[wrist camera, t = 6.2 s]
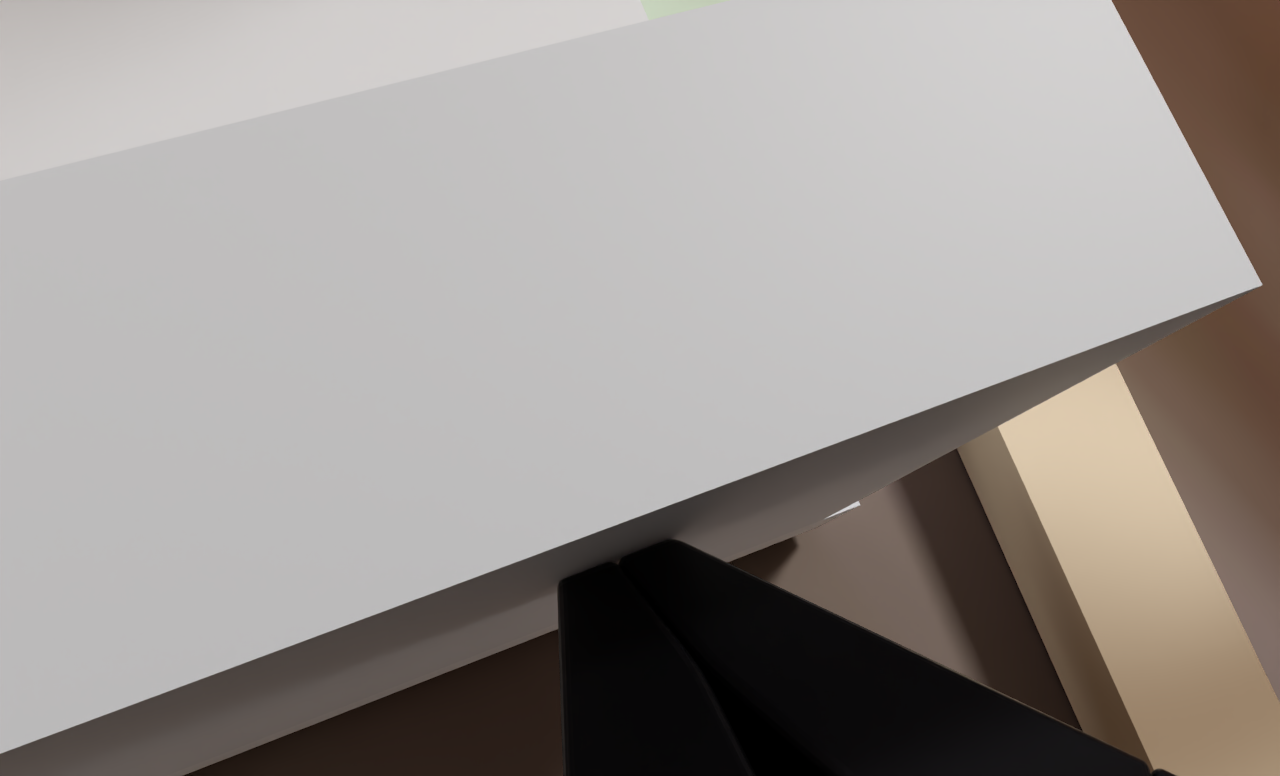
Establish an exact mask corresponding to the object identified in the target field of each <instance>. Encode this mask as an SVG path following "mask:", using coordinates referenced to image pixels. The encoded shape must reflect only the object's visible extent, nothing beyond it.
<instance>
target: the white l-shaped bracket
mask: <svg viewBox="0 0 1280 776" xmlns="http://www.w3.org/2000/svg"><path fill="white" fill-rule="evenodd" d="M1260 286H1262V283H1261V281H1260V279H1259V277H1258V276H1257V274H1256V272H1255V270H1254V268H1253V266H1252V264H1251V262H1250V261H1249V259H1248V257H1247V255H1246V253H1245V251H1244V249H1243V247H1242V245H1241V244H1240V242H1239V240H1238V238H1237V236H1236V234H1235V232H1234V230H1233V229H1232V227H1231V225H1230V223H1229V221H1228V219H1227V217H1226V215H1225V213H1224V212H1223V210H1222V208H1221V206H1220V204H1219V202H1218V200H1217V198H1216V197H1215V195H1214V193H1213V191H1212V189H1211V187H1210V185H1209V183H1208V181H1207V180H1206V178H1205V176H1204V174H1203V172H1202V170H1201V168H1200V166H1199V165H1198V163H1197V161H1196V159H1195V157H1194V155H1193V153H1192V151H1191V149H1190V148H1189V146H1188V144H1187V142H1186V140H1185V138H1184V136H1183V134H1182V133H1181V131H1180V129H1179V127H1178V125H1177V123H1176V121H1175V119H1174V117H1173V116H1172V114H1171V112H1170V110H1169V108H1168V106H1167V104H1166V102H1165V101H1164V99H1163V97H1162V95H1161V93H1160V91H1159V89H1158V87H1157V85H1156V84H1155V82H1154V80H1153V78H1152V76H1151V74H1150V72H1149V70H1148V69H1147V67H1146V65H1145V63H1144V61H1143V59H1142V57H1141V55H1140V53H1139V52H1138V50H1137V48H1136V46H1135V44H1134V42H1133V40H1132V38H1131V37H1130V35H1129V33H1128V31H1127V29H1126V27H1125V25H1124V23H1123V21H1122V20H1121V18H1120V16H1119V14H1118V12H1117V10H1116V8H1115V6H1114V5H1113V3H1112V1H1111V0H729V1H725V2H721V3H717V4H713V5H709V6H705V7H701V8H697V9H693V10H688V11H684V12H680V13H676V14H672V15H668V16H664V17H660V18H656V19H652V20H649V19H648V17H647V15H646V12H645V10H644V8H643V5H642V3H641V1H640V0H0V776H183V775H186V774H189V773H191V772H194V771H196V770H199V769H201V768H204V767H206V766H209V765H212V764H214V763H217V762H219V761H222V760H224V759H227V758H229V757H232V756H235V755H237V754H240V753H242V752H245V751H247V750H250V749H252V748H255V747H258V746H260V745H263V744H265V743H268V742H270V741H273V740H275V739H278V738H281V737H283V736H286V735H288V734H291V733H293V732H296V731H298V730H301V729H303V728H306V727H309V726H311V725H314V724H316V723H319V722H321V721H324V720H326V719H329V718H332V717H334V716H337V715H339V714H342V713H344V712H347V711H349V710H352V709H355V708H357V707H360V706H362V705H365V704H367V703H370V702H372V701H375V700H378V699H380V698H383V697H385V696H388V695H390V694H393V693H395V692H398V691H401V690H403V689H406V688H408V687H411V686H413V685H416V684H418V683H421V682H424V681H426V680H429V679H431V678H434V677H436V676H439V675H441V674H444V673H447V672H449V671H452V670H454V669H457V668H459V667H462V666H464V665H467V664H470V663H472V662H475V661H477V660H480V659H482V658H485V657H487V656H490V655H493V654H495V653H498V652H500V651H503V650H505V649H508V648H510V647H513V646H515V645H518V644H521V643H523V642H526V641H528V640H531V639H533V638H536V637H538V636H541V635H544V634H546V633H549V632H551V631H554V630H556V629H558V602H557V586H558V584H559V581H561V580H562V579H565V578H567V577H570V576H572V575H575V574H578V573H580V572H583V571H586V570H588V569H591V568H594V567H596V566H599V565H602V564H604V563H607V562H613V563H616V564H618V563H619V561H620V560H621V558H622V557H624V556H626V555H628V554H631V553H634V552H636V551H639V550H641V549H644V548H647V547H649V546H652V545H655V544H657V543H660V542H663V541H665V540H668V539H676V540H680V541H683V542H685V543H687V544H689V545H691V546H693V547H696V548H698V549H700V550H702V551H704V552H706V553H708V554H710V555H712V556H715V557H717V558H719V559H721V560H723V561H725V562H730V561H733V560H735V559H738V558H740V557H743V556H745V555H748V554H750V553H753V552H756V551H758V550H761V549H763V548H766V547H768V546H771V545H773V544H776V543H779V542H781V541H784V540H786V539H789V538H791V537H794V536H796V535H799V534H802V533H804V532H807V531H809V530H812V529H814V528H817V527H819V526H821V525H823V524H825V523H827V522H829V521H831V520H833V519H835V518H837V517H838V516H840V515H842V514H844V513H846V512H848V511H850V510H852V509H854V508H856V507H858V506H860V503H859V500H861V499H863V498H865V497H866V496H868V495H870V494H872V493H874V492H876V491H878V490H880V489H881V488H883V487H885V486H887V485H889V484H891V483H893V482H895V481H896V480H898V479H900V478H902V477H904V476H906V475H908V474H910V473H911V472H913V471H915V470H917V469H919V468H921V467H923V466H924V465H926V464H928V463H930V462H932V461H934V460H936V459H938V458H939V457H941V456H943V455H945V454H947V453H949V452H951V451H953V450H954V449H956V448H958V447H960V446H962V445H964V444H966V443H968V442H969V441H971V440H973V439H975V438H977V437H979V436H981V435H983V434H984V433H986V432H988V431H990V430H992V429H994V428H996V427H998V426H999V425H1001V424H1003V423H1005V422H1007V421H1009V420H1011V419H1013V418H1014V417H1016V416H1018V415H1020V414H1022V413H1024V412H1026V411H1028V410H1029V409H1031V408H1033V407H1035V406H1037V405H1039V404H1041V403H1043V402H1044V401H1046V400H1048V399H1050V398H1052V397H1054V396H1056V395H1057V394H1059V393H1061V392H1063V391H1065V390H1067V389H1069V388H1071V387H1072V386H1074V385H1076V384H1078V383H1080V382H1082V381H1084V380H1086V379H1087V378H1089V377H1091V376H1093V375H1095V374H1097V373H1099V372H1101V371H1102V370H1104V369H1106V368H1108V367H1110V366H1112V365H1114V364H1116V363H1117V362H1119V361H1121V360H1123V359H1125V358H1127V357H1129V356H1131V355H1132V354H1134V353H1136V352H1138V351H1140V350H1142V349H1144V348H1146V347H1147V346H1149V345H1151V344H1153V343H1155V342H1157V341H1159V340H1161V339H1162V338H1164V337H1166V336H1168V335H1170V334H1172V333H1174V332H1176V331H1177V330H1179V329H1181V328H1183V327H1185V326H1187V325H1189V324H1190V323H1192V322H1194V321H1196V320H1198V319H1200V318H1202V317H1204V316H1205V315H1207V314H1209V313H1211V312H1213V311H1215V310H1217V309H1219V308H1220V307H1222V306H1224V305H1226V304H1228V303H1230V302H1232V301H1234V300H1235V299H1237V298H1239V297H1241V296H1243V295H1245V294H1247V293H1249V292H1250V291H1252V290H1254V289H1256V288H1258V287H1260Z"/></svg>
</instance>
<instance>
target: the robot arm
mask: <svg viewBox="0 0 1280 776" xmlns="http://www.w3.org/2000/svg"><path fill="white" fill-rule="evenodd" d="M557 602H558V633H559V663H560V694H561V725H562V756H563V776H1177V775H1174V774H1172V773H1170V772H1168V771H1166V770H1164V769H1160V768H1159V769H1155V770H1154V771H1152V773H1150V769H1149V766H1148V765H1147V763H1146V762H1145V761H1143V760H1142V759H1140V758H1138V757H1135V756H1133V755H1131V754H1129V753H1127V752H1125V751H1123V750H1121V749H1119V748H1116V747H1114V746H1112V745H1110V744H1108V743H1106V742H1104V741H1102V740H1100V739H1098V738H1095V737H1093V736H1091V735H1089V734H1087V733H1085V732H1083V731H1081V730H1079V729H1076V728H1074V727H1072V726H1070V725H1068V724H1066V723H1064V722H1062V721H1060V720H1058V719H1055V718H1053V717H1051V716H1049V715H1047V714H1045V713H1043V712H1041V711H1039V710H1036V709H1034V708H1032V707H1030V706H1028V705H1026V704H1024V703H1022V702H1020V701H1018V700H1015V699H1013V698H1011V697H1009V696H1007V695H1005V694H1003V693H1001V692H999V691H997V690H994V689H992V688H990V687H988V686H986V685H984V684H982V683H980V682H978V681H975V680H973V679H971V678H969V677H967V676H965V675H963V674H961V673H959V672H957V671H954V670H952V669H950V668H948V667H946V666H944V665H942V664H940V663H938V662H935V661H933V660H931V659H929V658H927V657H925V656H923V655H921V654H919V653H917V652H914V651H912V650H910V649H908V648H906V647H904V646H902V645H900V644H898V643H895V642H893V641H891V640H889V639H887V638H885V637H883V636H881V635H879V634H877V633H874V632H872V631H870V630H868V629H866V628H864V627H862V626H860V625H858V624H856V623H853V622H851V621H849V620H847V619H845V618H843V617H841V616H839V615H837V614H834V613H832V612H830V611H828V610H826V609H824V608H822V607H820V606H818V605H816V604H813V603H811V602H809V601H807V600H805V599H803V598H801V597H799V596H797V595H794V594H792V593H790V592H788V591H786V590H784V589H782V588H780V587H778V586H776V585H773V584H771V583H769V582H767V581H765V580H763V579H761V578H759V577H757V576H754V575H752V574H750V573H748V572H746V571H744V570H742V569H740V568H738V567H736V566H733V565H731V564H729V563H727V562H725V561H723V560H721V559H719V558H717V557H715V556H712V555H710V554H708V553H706V552H704V551H702V550H700V549H698V548H696V547H693V546H691V545H689V544H687V543H685V542H683V541H680V540H676V539H668V540H665V541H663V542H660V543H657V544H655V545H652V546H649V547H647V548H644V549H641V550H639V551H636V552H634V553H631V554H628V555H626V556H624V557H622V558H621V560H620V561H619V563H618V564H616V563H613V562H607V563H604V564H602V565H599V566H596V567H594V568H591V569H588V570H586V571H583V572H580V573H578V574H575V575H572V576H570V577H567V578H565V579H562V580H561V581H559V584H558V586H557Z"/></svg>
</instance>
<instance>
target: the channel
mask: <svg viewBox="0 0 1280 776" xmlns="http://www.w3.org/2000/svg"><path fill="white" fill-rule="evenodd" d="M957 450H958V452H959V454H960V456H961V459H962V461H963V463H964V465H965V468H966V470H967V472H968V474H969V477H970V479H971V481H972V483H973V486H974V488H975V490H976V492H977V495H978V497H979V499H980V501H981V504H982V506H983V508H984V510H985V513H986V515H987V517H988V519H989V522H990V524H991V526H992V528H993V531H994V533H995V535H996V537H997V540H998V542H999V544H1000V546H1001V549H1002V551H1003V553H1004V555H1005V558H1006V560H1007V562H1008V564H1009V567H1010V569H1011V571H1012V573H1013V575H1014V578H1015V580H1016V582H1017V584H1018V587H1019V589H1020V591H1021V593H1022V596H1023V598H1024V600H1025V602H1026V605H1027V607H1028V609H1029V611H1030V614H1031V616H1032V618H1033V620H1034V623H1035V625H1036V627H1037V629H1038V632H1039V634H1040V636H1041V638H1042V641H1043V643H1044V645H1045V647H1046V650H1047V652H1048V654H1049V656H1050V659H1051V661H1052V663H1053V665H1054V668H1055V670H1056V672H1057V674H1058V677H1059V679H1060V681H1061V683H1062V686H1063V688H1064V690H1065V692H1066V694H1067V697H1068V699H1069V701H1070V703H1071V706H1072V708H1073V710H1074V712H1075V715H1076V717H1077V719H1078V721H1079V724H1080V726H1081V728H1082V730H1083V732H1085V733H1087V734H1089V735H1091V736H1093V737H1095V738H1098V739H1100V740H1102V741H1104V742H1106V743H1108V744H1110V745H1112V746H1114V747H1116V748H1119V749H1121V750H1123V751H1125V752H1127V753H1129V754H1131V755H1133V756H1135V757H1138V758H1140V759H1142V760H1143V761H1145V762H1146V763H1147V765H1148V766H1149V769H1150V773H1152V771H1154V770H1155V769H1159V768H1160V769H1164V770H1166V771H1168V772H1170V773H1172V774H1174V775H1177V776H1280V703H1279V700H1278V698H1277V696H1276V694H1275V692H1274V690H1273V688H1272V686H1271V684H1270V682H1269V680H1268V678H1267V676H1266V674H1265V671H1264V669H1263V667H1262V665H1261V663H1260V661H1259V659H1258V657H1257V655H1256V653H1255V651H1254V649H1253V647H1252V645H1251V642H1250V640H1249V638H1248V636H1247V634H1246V632H1245V630H1244V628H1243V626H1242V624H1241V622H1240V620H1239V618H1238V616H1237V613H1236V611H1235V609H1234V607H1233V605H1232V603H1231V601H1230V599H1229V597H1228V595H1227V593H1226V591H1225V589H1224V587H1223V584H1222V582H1221V580H1220V578H1219V576H1218V574H1217V572H1216V570H1215V568H1214V566H1213V564H1212V562H1211V560H1210V558H1209V556H1208V553H1207V551H1206V549H1205V547H1204V545H1203V543H1202V541H1201V539H1200V537H1199V535H1198V533H1197V531H1196V529H1195V527H1194V524H1193V522H1192V520H1191V518H1190V516H1189V514H1188V512H1187V510H1186V508H1185V506H1184V504H1183V502H1182V500H1181V498H1180V495H1179V493H1178V491H1177V489H1176V487H1175V485H1174V483H1173V481H1172V479H1171V477H1170V475H1169V473H1168V471H1167V469H1166V466H1165V464H1164V462H1163V460H1162V458H1161V456H1160V454H1159V452H1158V450H1157V448H1156V446H1155V444H1154V442H1153V440H1152V437H1151V435H1150V433H1149V431H1148V429H1147V427H1146V425H1145V423H1144V421H1143V419H1142V417H1141V415H1140V413H1139V411H1138V408H1137V406H1136V404H1135V402H1134V400H1133V398H1132V396H1131V394H1130V392H1129V390H1128V388H1127V386H1126V384H1125V382H1124V380H1123V377H1122V375H1121V373H1120V371H1119V369H1118V367H1117V365H1116V364H1114V365H1112V366H1110V367H1108V368H1106V369H1104V370H1102V371H1101V372H1099V373H1097V374H1095V375H1093V376H1091V377H1089V378H1087V379H1086V380H1084V381H1082V382H1080V383H1078V384H1076V385H1074V386H1072V387H1071V388H1069V389H1067V390H1065V391H1063V392H1061V393H1059V394H1057V395H1056V396H1054V397H1052V398H1050V399H1048V400H1046V401H1044V402H1043V403H1041V404H1039V405H1037V406H1035V407H1033V408H1031V409H1029V410H1028V411H1026V412H1024V413H1022V414H1020V415H1018V416H1016V417H1014V418H1013V419H1011V420H1009V421H1007V422H1005V423H1003V424H1001V425H999V426H998V427H996V428H994V429H992V430H990V431H988V432H986V433H984V434H983V435H981V436H979V437H977V438H975V439H973V440H971V441H969V442H968V443H966V444H964V445H962V446H960V447H958V448H957Z"/></svg>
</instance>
